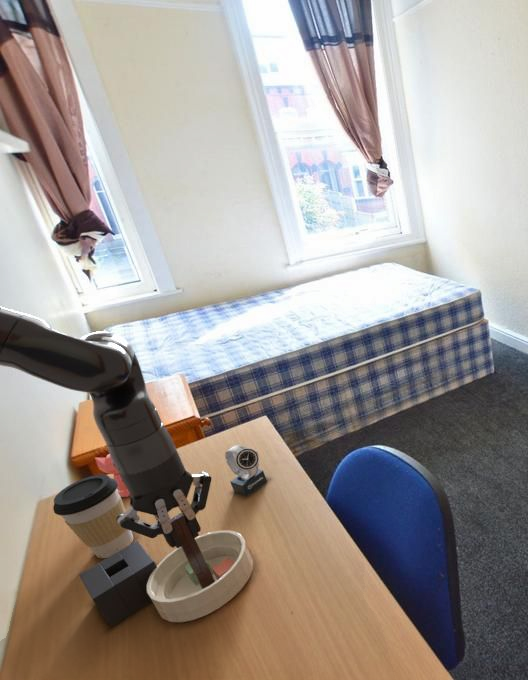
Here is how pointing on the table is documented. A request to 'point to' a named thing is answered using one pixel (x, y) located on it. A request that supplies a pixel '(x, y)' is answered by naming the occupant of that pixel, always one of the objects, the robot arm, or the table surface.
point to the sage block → (191, 573)
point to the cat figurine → (109, 468)
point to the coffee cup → (94, 514)
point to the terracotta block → (222, 568)
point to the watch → (245, 469)
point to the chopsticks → (192, 551)
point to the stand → (120, 582)
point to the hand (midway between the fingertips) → (186, 539)
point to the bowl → (190, 600)
